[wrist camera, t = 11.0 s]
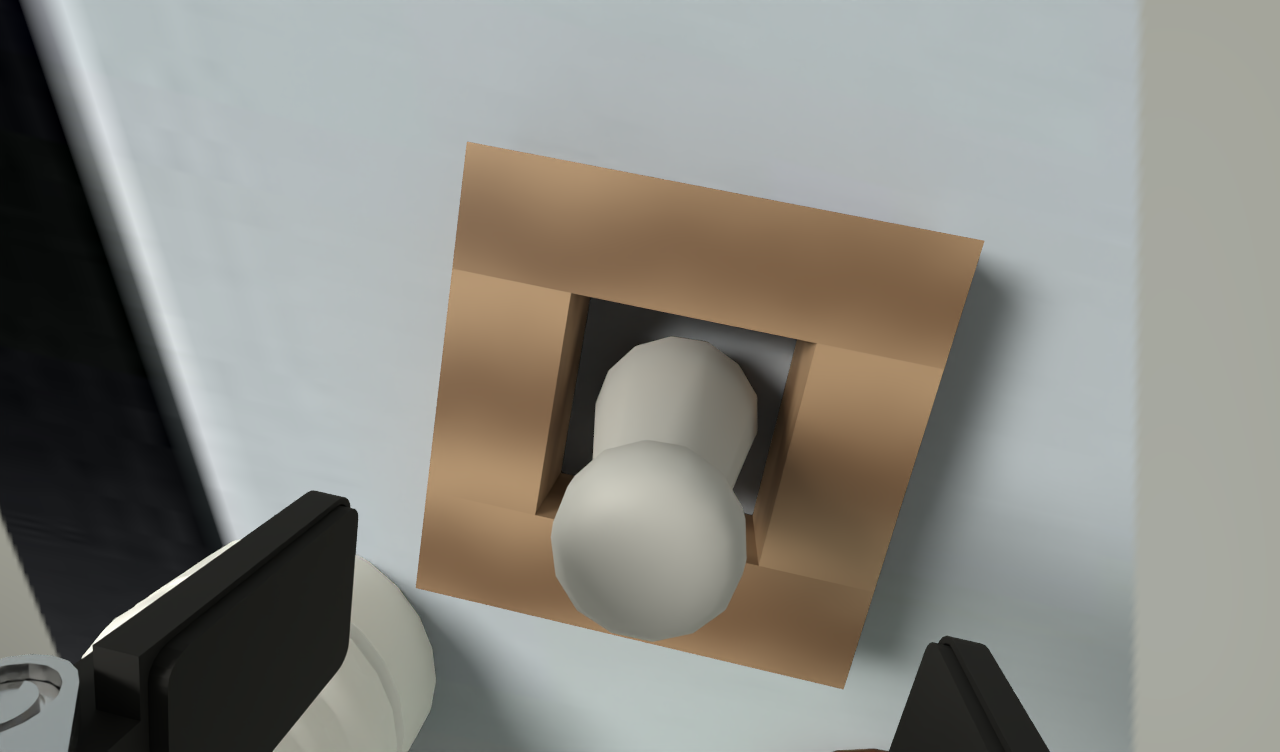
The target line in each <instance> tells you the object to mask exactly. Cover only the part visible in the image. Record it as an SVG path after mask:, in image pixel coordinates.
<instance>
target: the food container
mask: <svg viewBox="0 0 1280 752" xmlns="http://www.w3.org/2000/svg"><path fill="white" fill-rule="evenodd" d="M834 752H889V751H884V750H878V749H856V750H837V751H834Z"/></svg>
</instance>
